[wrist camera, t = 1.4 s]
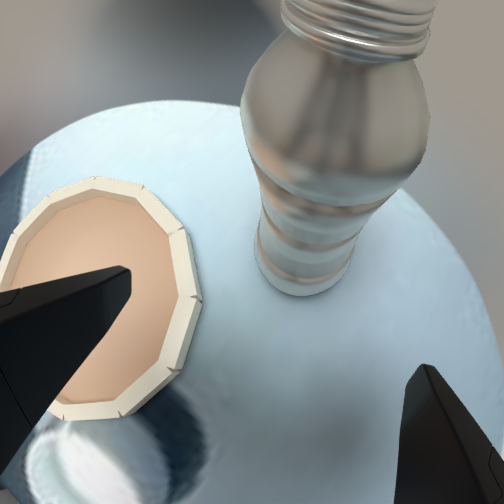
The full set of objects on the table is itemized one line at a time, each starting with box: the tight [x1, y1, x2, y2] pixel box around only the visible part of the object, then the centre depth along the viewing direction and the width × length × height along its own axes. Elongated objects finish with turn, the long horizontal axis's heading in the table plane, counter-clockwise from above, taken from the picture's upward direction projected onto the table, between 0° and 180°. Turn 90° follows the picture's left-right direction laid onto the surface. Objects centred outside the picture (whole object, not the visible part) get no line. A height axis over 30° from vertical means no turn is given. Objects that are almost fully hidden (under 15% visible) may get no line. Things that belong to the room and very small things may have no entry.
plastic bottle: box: [240, 0, 438, 296], centre depth 14 cm, size 6×7×20 cm
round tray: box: [0, 176, 203, 421], centre depth 22 cm, size 19×19×2 cm
